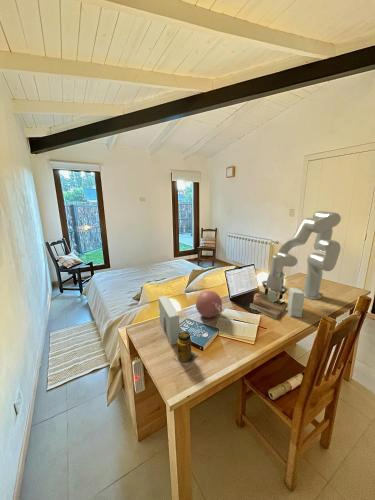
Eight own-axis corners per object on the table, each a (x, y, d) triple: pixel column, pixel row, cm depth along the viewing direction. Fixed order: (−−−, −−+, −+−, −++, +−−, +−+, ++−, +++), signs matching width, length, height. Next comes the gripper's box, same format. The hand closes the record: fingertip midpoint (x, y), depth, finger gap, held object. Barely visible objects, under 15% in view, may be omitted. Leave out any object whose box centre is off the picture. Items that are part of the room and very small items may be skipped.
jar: (255, 301, 139) (256, 292, 137) (262, 304, 136) (263, 294, 134) (252, 304, 136) (252, 294, 134) (258, 306, 133) (259, 297, 131)
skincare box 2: (301, 317, 125) (305, 294, 121) (289, 316, 126) (293, 292, 122) (297, 310, 133) (301, 287, 129) (286, 309, 134) (289, 286, 130)
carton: (271, 297, 149) (272, 287, 147) (278, 300, 146) (279, 289, 144) (267, 300, 144) (268, 290, 142) (274, 303, 141) (275, 292, 139)
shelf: (260, 300, 145) (260, 296, 144) (285, 309, 133) (286, 305, 133) (249, 308, 135) (249, 303, 134) (275, 319, 123) (276, 314, 122)
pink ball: (206, 330, 113) (207, 304, 109) (191, 311, 131) (191, 288, 127) (230, 324, 118) (232, 299, 114) (213, 306, 136) (214, 284, 132)
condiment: (173, 358, 94) (173, 335, 91) (185, 348, 100) (185, 326, 97) (185, 366, 89) (186, 342, 86) (198, 355, 95) (198, 332, 92)
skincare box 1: (158, 321, 120) (157, 296, 116) (167, 319, 122) (167, 294, 118) (169, 346, 101) (169, 316, 97) (180, 343, 103) (180, 314, 99)
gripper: (291, 275, 136) (288, 299, 141) (266, 268, 148) (263, 290, 153) (287, 278, 131) (283, 303, 136) (261, 271, 143) (258, 294, 148)
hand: (273, 296), depth 144 cm, fingers open, 9 cm apart
